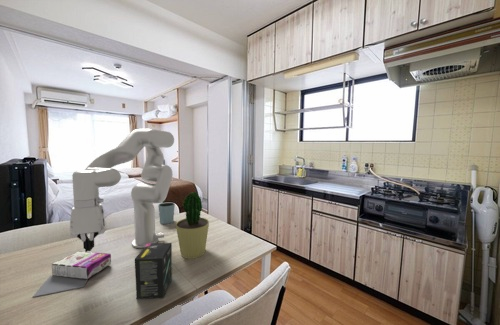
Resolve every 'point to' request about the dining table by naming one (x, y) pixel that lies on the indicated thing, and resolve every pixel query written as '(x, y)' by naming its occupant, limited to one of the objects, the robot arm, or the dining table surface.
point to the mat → (60, 285)
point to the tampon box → (153, 270)
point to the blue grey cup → (166, 212)
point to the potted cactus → (192, 228)
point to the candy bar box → (81, 264)
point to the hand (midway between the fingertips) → (89, 249)
